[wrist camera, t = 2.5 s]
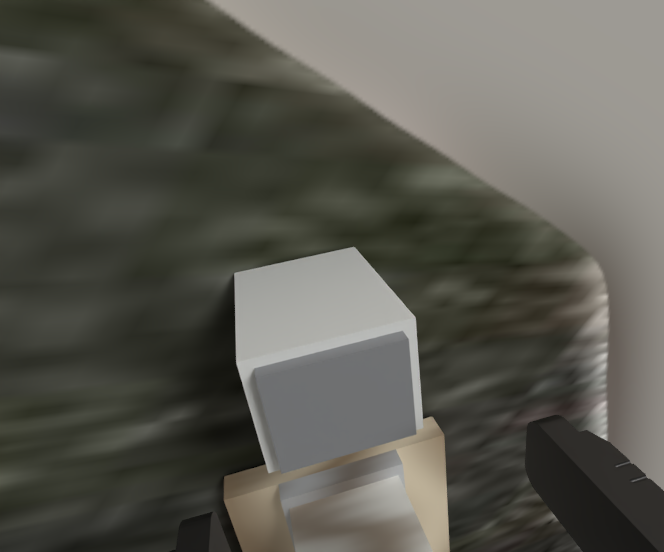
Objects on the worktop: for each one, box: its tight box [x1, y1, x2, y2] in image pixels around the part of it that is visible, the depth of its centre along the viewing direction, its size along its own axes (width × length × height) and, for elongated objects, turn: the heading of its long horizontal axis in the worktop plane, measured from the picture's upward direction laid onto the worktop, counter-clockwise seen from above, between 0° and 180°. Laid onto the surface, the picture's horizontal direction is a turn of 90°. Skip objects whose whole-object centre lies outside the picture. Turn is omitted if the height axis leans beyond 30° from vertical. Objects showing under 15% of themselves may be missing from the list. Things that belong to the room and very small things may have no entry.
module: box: [234, 247, 423, 474], centre depth 16 cm, size 6×4×8 cm
